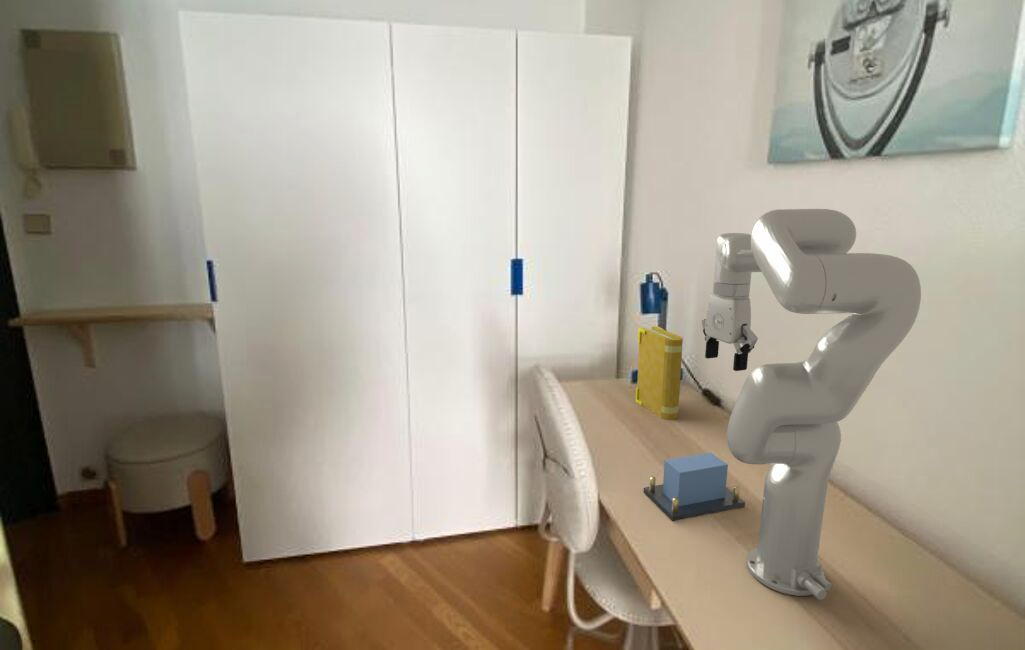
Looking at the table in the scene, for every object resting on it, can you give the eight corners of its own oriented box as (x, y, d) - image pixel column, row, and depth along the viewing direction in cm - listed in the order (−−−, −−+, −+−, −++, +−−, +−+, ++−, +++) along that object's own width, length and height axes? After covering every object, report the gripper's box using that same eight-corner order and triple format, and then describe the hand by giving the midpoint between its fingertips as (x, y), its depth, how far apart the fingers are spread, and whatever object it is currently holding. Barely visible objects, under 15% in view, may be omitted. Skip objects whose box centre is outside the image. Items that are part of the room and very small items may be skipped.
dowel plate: (744, 506, 120) (746, 489, 119) (672, 521, 115) (673, 503, 114) (710, 480, 131) (712, 464, 130) (643, 492, 126) (644, 475, 125)
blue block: (677, 506, 118) (679, 472, 116) (662, 492, 124) (664, 460, 122) (725, 497, 121) (727, 464, 120) (708, 484, 127) (710, 452, 125)
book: (635, 401, 181) (638, 328, 175) (653, 398, 183) (656, 326, 177) (663, 420, 166) (668, 340, 160) (682, 417, 167) (688, 338, 162)
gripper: (692, 284, 128) (688, 355, 132) (744, 298, 112) (737, 377, 116) (719, 282, 130) (714, 351, 134) (774, 295, 114) (766, 373, 118)
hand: (725, 363), depth 125 cm, fingers open, 9 cm apart
